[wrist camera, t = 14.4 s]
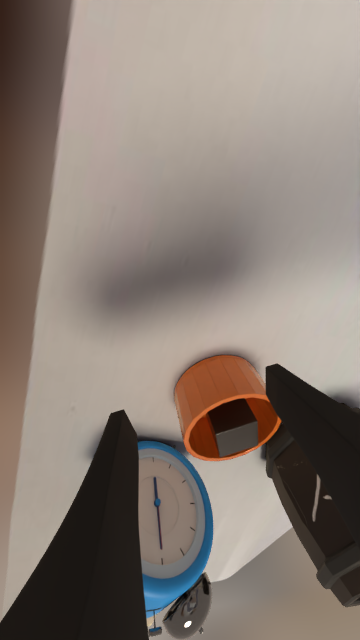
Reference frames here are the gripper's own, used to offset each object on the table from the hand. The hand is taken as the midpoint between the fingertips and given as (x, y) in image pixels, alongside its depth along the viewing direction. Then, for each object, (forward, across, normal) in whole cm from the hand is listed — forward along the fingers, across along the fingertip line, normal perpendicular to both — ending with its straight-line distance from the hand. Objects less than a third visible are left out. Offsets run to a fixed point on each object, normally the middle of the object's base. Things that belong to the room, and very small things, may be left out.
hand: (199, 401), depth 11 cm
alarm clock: (+11, +8, +20) cm, 24 cm away
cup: (+10, -3, +12) cm, 16 cm away
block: (+10, -3, +12) cm, 16 cm away
